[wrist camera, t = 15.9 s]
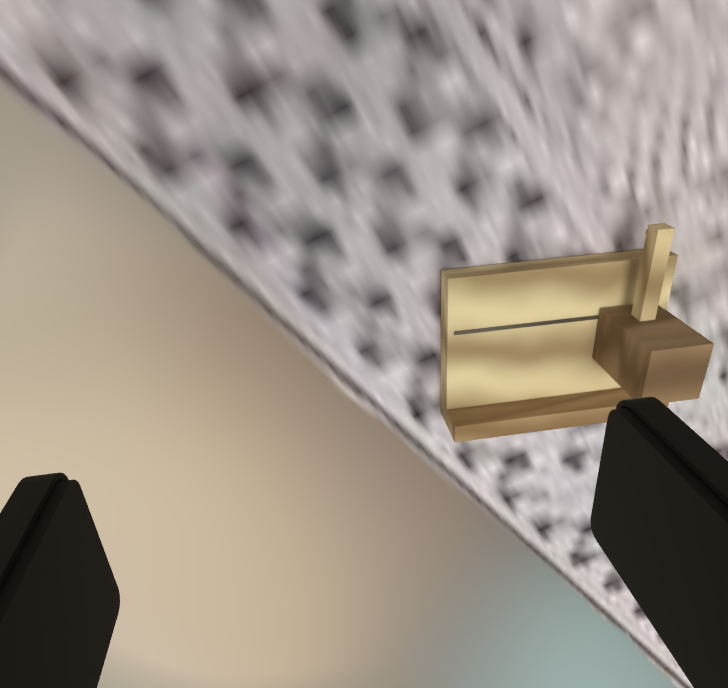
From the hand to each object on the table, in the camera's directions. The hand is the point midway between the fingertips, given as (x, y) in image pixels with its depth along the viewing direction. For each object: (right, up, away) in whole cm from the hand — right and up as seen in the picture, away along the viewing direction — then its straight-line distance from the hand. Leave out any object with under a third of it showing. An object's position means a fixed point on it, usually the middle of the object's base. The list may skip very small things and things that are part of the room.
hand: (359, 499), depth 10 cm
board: (+15, +4, +37) cm, 40 cm away
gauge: (+21, +7, +34) cm, 40 cm away
